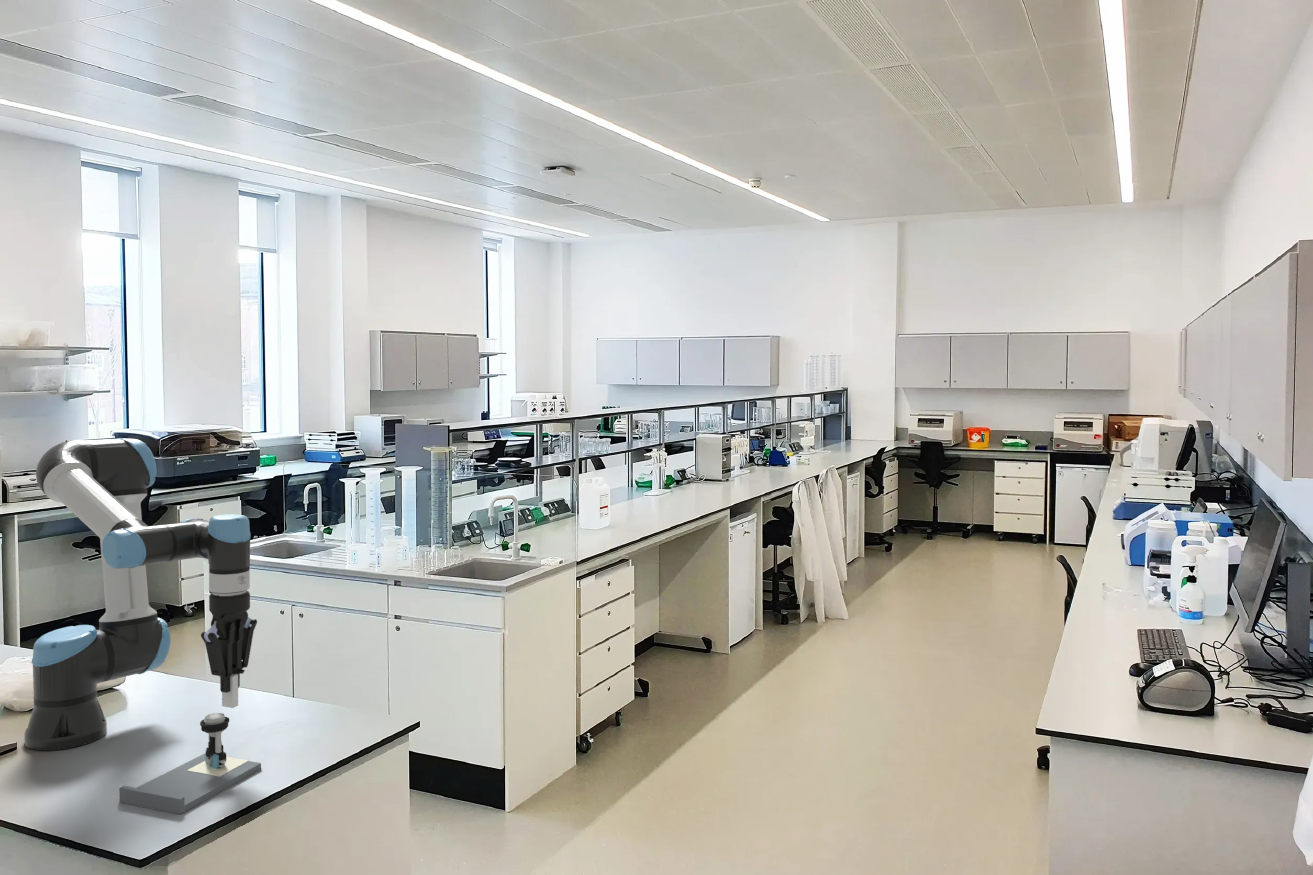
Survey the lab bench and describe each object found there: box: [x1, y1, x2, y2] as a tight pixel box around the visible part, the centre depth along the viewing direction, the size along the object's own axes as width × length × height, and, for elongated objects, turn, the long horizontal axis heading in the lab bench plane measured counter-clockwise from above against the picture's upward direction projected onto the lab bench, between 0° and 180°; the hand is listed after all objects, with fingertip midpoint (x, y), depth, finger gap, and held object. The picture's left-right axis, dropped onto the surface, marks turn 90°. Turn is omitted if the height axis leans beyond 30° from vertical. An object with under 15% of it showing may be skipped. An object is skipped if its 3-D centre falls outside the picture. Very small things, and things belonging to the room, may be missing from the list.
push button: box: [199, 712, 230, 769], centre depth 186 cm, size 7×5×10 cm
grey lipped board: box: [118, 753, 262, 815], centre depth 180 cm, size 14×21×3 cm, turn 163°
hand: (230, 705), depth 189 cm, fingers closed
